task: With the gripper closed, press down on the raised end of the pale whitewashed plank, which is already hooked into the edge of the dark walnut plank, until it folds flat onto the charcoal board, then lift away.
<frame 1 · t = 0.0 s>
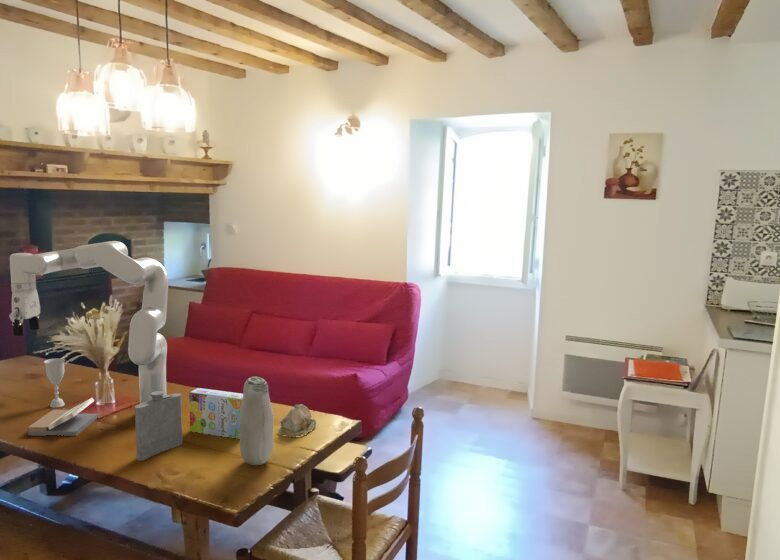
hand: (26, 332, 205), 31 cm above the table, tool pointing down, fingers open, 9 cm apart
snack box: (219, 433, 197), on the table
hip flask: (159, 451, 182), on the table
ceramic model: (296, 431, 201), on the table
chalice: (57, 405, 218), on the table
pale grey bottle: (256, 463, 176), on the table
pale plank: (71, 413, 198), point 5 cm above the table, hinge at 30.0°
floor sample board: (64, 426, 199), on the table
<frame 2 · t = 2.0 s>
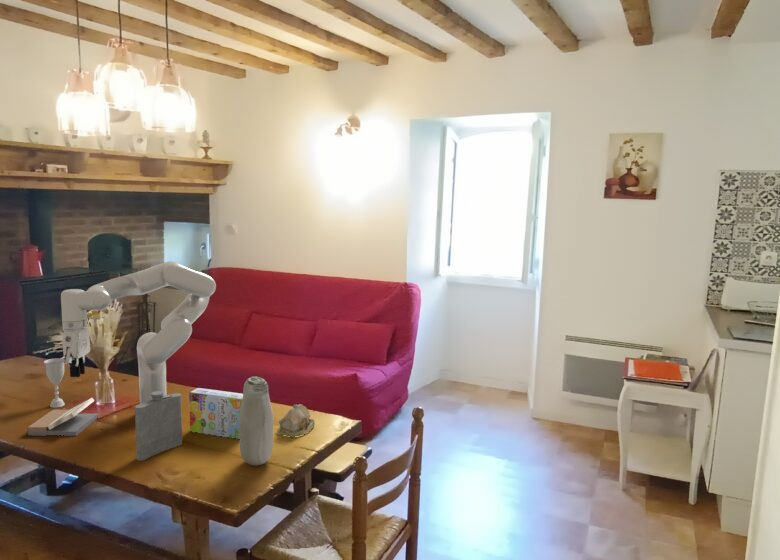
hand: (77, 374, 196), 19 cm above the table, tool pointing down, fingers closed
nothing on the table moved.
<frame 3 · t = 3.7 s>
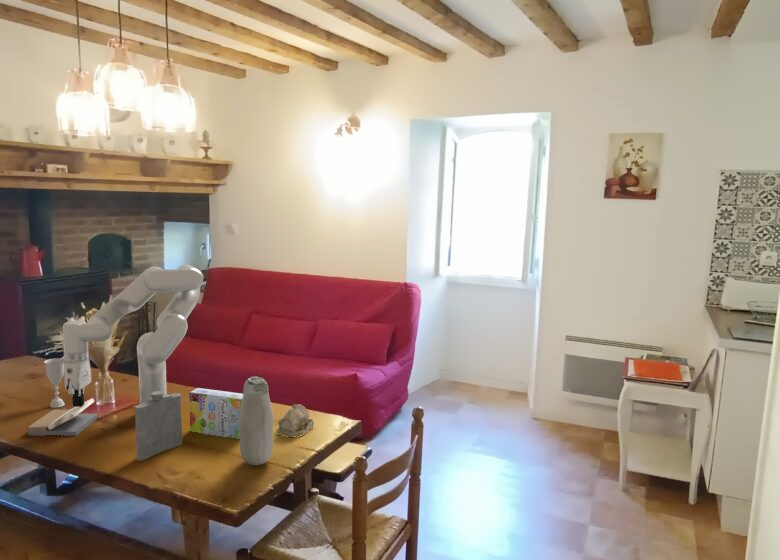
hand: (78, 405, 198), 8 cm above the table, tool pointing down, fingers closed
pale plank: (71, 413, 198), point 5 cm above the table, hinge at 28.8°, touching gripper
everything else where it was.
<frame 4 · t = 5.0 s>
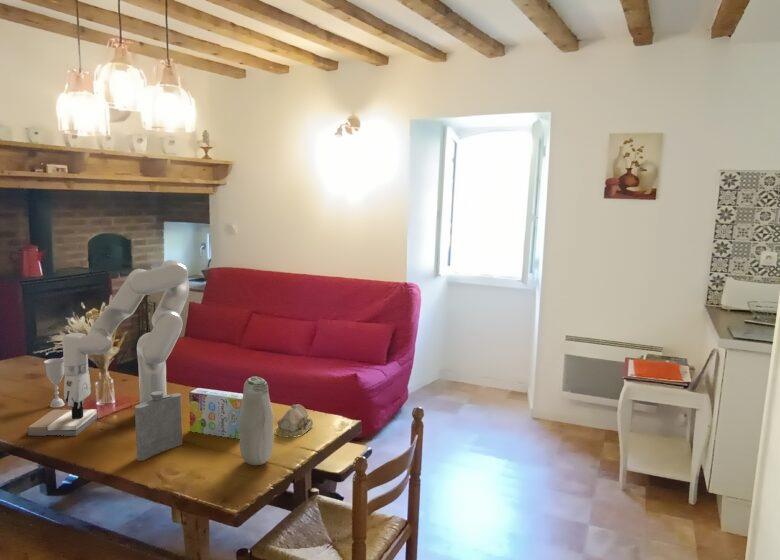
hand: (77, 417, 198), 3 cm above the table, tool pointing down, fingers closed
pale plank: (72, 419, 198), point 3 cm above the table, hinge at 1.9°, touching gripper
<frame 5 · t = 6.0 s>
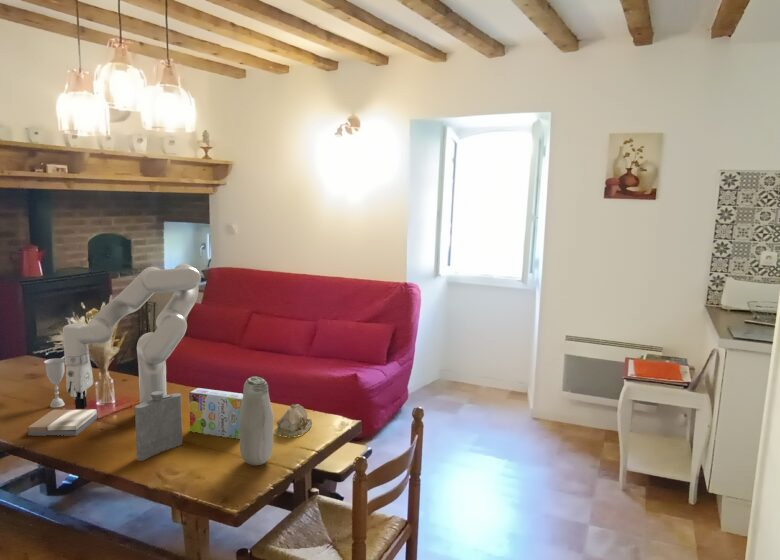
hand: (81, 408, 198), 7 cm above the table, tool pointing down, fingers closed
pale plank: (72, 419, 198), point 3 cm above the table, hinge at 1.9°
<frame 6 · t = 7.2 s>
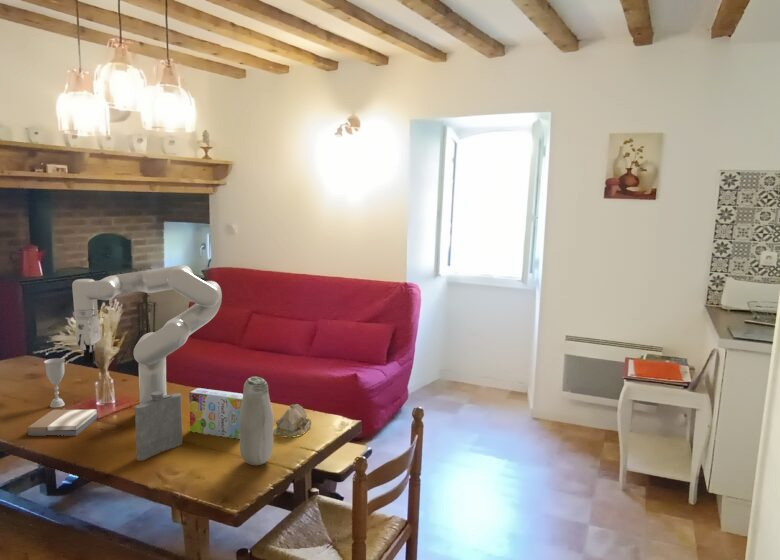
hand: (89, 361, 203), 22 cm above the table, tool pointing down, fingers closed
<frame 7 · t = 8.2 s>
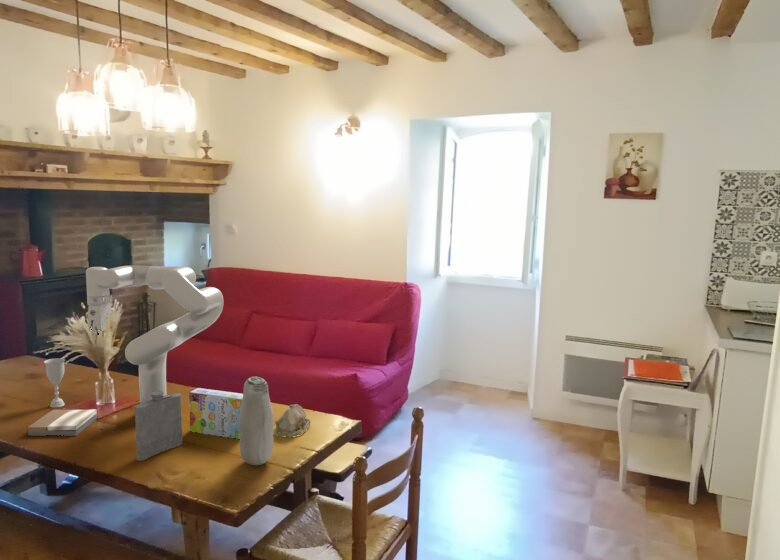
hand: (100, 347, 210), 25 cm above the table, tool pointing down, fingers closed
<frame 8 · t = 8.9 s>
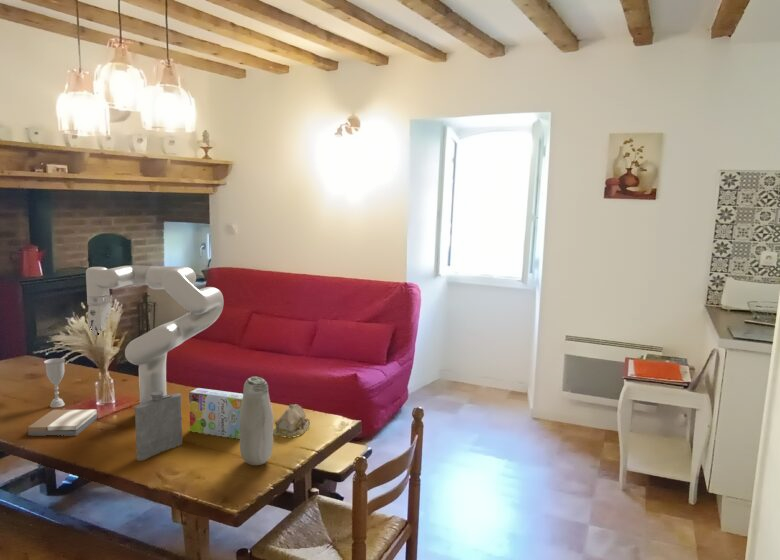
hand: (100, 347, 210), 25 cm above the table, tool pointing down, fingers closed
at the end: pale plank at +2° (first picture: +30°); chalice moved 0.2 cm from its start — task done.
